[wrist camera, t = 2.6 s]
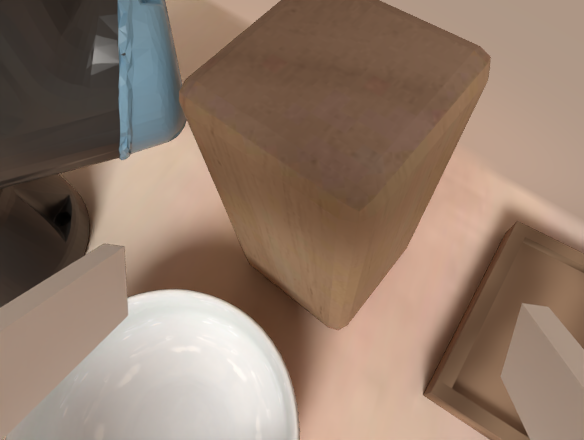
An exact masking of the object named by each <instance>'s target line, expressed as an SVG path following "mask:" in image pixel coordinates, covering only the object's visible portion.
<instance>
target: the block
mask: <svg viewBox="0 0 584 440" xmlns="http://www.w3.org/2000/svg"><path fill="white" fill-rule="evenodd" d="M490 58H491V57H490V56H489V55H488V54H487V53H486V52H485V51H484V50H483V49H482V48H481V47H480V46H478V45H476V44H474V43H472V42H469V41H467V40H465V39H463V38H460V37H458V36H456V35H454V34H452V33H450V32H447V31H445V30H443V29H441V28H439V27H437V26H434V25H432V24H430V23H428V22H425V21H423V20H421V19H419V18H417V17H415V16H412V15H410V14H408V13H406V12H404V11H401V10H399V9H397V8H395V7H392V6H390V5H388V4H386V3H383V2H382V1H379V0H281V1H280V2H278V3H277V4H276V5H275V6H274V7H272V8H271V9H270V10H269V11H268V12H267V13H265V14H264V15H263V16H262V17H261V18H259V19H258V20H257V21H256V22H254V23H253V24H252V25H251V26H250V27H248V28H247V29H246V30H245V31H243V32H242V33H241V34H240V35H239V36H237V37H236V38H235V39H234V40H233V41H231V42H230V43H229V44H228V45H227V46H225V47H224V48H223V49H222V50H221V51H219V52H218V53H217V54H216V55H215V56H213V57H212V58H211V59H210V60H209V61H207V62H206V63H205V64H204V65H203V66H201V67H200V68H199V69H198V70H196V71H195V72H194V73H193V74H192V75H190V76H189V77H188V78H187V79H186V80H185V82H184V84H183V85H182V87H181V89H180V91H179V102H180V105H181V107H182V109H183V112H184V114H185V116H186V119H187V121H188V123H189V126H190V128H191V130H192V133H193V135H194V137H195V140H196V142H197V144H198V147H199V149H200V151H201V153H202V156H203V158H204V160H205V163H206V165H207V167H208V170H209V172H210V174H211V177H212V179H213V181H214V184H215V186H216V188H217V191H218V193H219V195H220V198H221V200H222V202H223V205H224V207H225V209H226V212H227V214H228V216H229V219H230V221H231V223H232V225H233V228H234V230H235V232H236V235H237V237H238V239H239V242H240V244H241V246H242V249H243V251H244V253H245V256H246V258H247V260H248V262H249V264H250V265H252V266H253V267H254V268H255V269H257V270H258V271H259V272H260V273H262V274H263V275H264V276H265V277H266V278H268V279H269V280H270V281H271V282H273V283H274V284H275V285H276V286H278V287H279V288H280V289H281V290H283V291H284V292H285V293H286V294H288V295H289V296H290V297H291V298H293V299H294V300H295V301H296V302H298V303H299V304H300V305H301V306H303V307H304V308H305V309H306V310H307V311H309V312H310V313H311V314H312V315H314V316H315V317H316V318H317V319H319V320H320V321H321V322H322V323H324V324H325V325H326V326H327V327H329V328H333V329H336V330H340V329H341V328H343V327H345V326H347V325H348V324H349V322H350V321H351V320H352V318H353V317H354V316H355V314H356V313H357V312H358V311H359V309H360V308H361V307H362V305H363V304H364V303H365V301H366V300H367V299H368V298H369V296H370V295H371V294H372V292H373V291H374V290H375V288H376V287H377V286H378V285H379V283H380V282H381V281H382V279H383V278H384V277H385V275H386V274H387V273H388V272H389V270H390V269H391V268H392V266H393V265H394V264H395V262H396V261H397V260H398V258H399V257H400V256H401V255H402V253H403V252H404V251H405V249H406V248H407V246H408V244H409V242H410V240H411V238H412V236H413V234H414V232H415V230H416V228H417V226H418V224H419V222H420V219H421V217H422V215H423V213H424V211H425V209H426V207H427V205H428V203H429V201H430V199H431V197H432V195H433V193H434V191H435V189H436V186H437V184H438V182H439V180H440V178H441V176H442V174H443V172H444V170H445V168H446V166H447V164H448V162H449V160H450V158H451V156H452V153H453V151H454V149H455V147H456V145H457V143H458V141H459V139H460V137H461V135H462V133H463V131H464V129H465V127H466V124H467V123H468V120H469V118H470V116H471V114H472V112H473V110H474V108H475V106H476V104H477V102H478V100H479V98H480V96H481V94H482V92H483V89H484V87H485V85H486V83H487V81H488V77H489V70H490Z"/></svg>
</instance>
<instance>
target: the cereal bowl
mask: <svg viewBox="0 0 584 440" xmlns="http://www.w3.org/2000/svg"><path fill="white" fill-rule="evenodd" d="M127 301H128V316H127V317H126V318H125V319H124V320H123V321H122V322H121V323H120V324H119V325H118V326H117V327H116V328H115V329H114V330H113V331H112V332H111V333H110V334H109V335H108V336H107V337H106V338H105V339H104V340H103V341H102V342H101V343H100V344H99V345H98V346H97V347H96V348H95V349H94V350H93V351H92V352H91V353H90V354H89V355H88V356H87V357H86V358H85V359H84V360H83V361H82V362H81V363H80V364H79V365H78V366H77V367H75V368H74V369H73V370H72V371H71V372H70V373H69V374H68V375H67V376H66V377H65V378H64V379H63V380H62V381H61V382H60V383H59V384H58V385H57V386H56V387H55V388H54V389H53V390H52V391H51V392H50V393H49V394H48V395H47V396H46V397H45V398H44V399H43V400H42V401H41V402H40V403H39V404H38V405H37V406H36V407H35V408H34V409H33V410H32V411H31V412H30V413H29V414H28V415H27V416H26V417H25V418H24V419H23V420H22V421H21V422H20V423H19V424H18V425H17V426H16V427H15V428H14V429H13V430H12V431H11V432H10V433H9V434H8V435H7V436H6V438H5V440H300V435H299V434H300V428H299V418H298V408H297V402H296V396H295V393H294V387H293V385H292V381H291V378H290V375H289V372H288V369H287V367H286V365H285V363H284V360H283V358H282V356H281V354H280V352H279V351H278V349H277V347H276V346H275V344H274V342H273V341H272V339H271V338H270V337H269V336H268V335H267V333H266V332H265V331H264V329H263V328H262V327H261V326H260V325H259V324H258V323H257V322H256V321H255V320H254V319H252V318H251V317H250V316H249V315H248V314H246V313H245V312H243V311H242V310H241V309H239V308H238V307H236V306H234V305H232V304H230V303H228V302H226V301H225V300H222V299H220V298H217V297H215V296H212V295H209V294H206V293H201V292H197V291H193V290H184V289H163V290H155V291H149V292H145V293H141V294H137V295H133V296H130V297H128V298H127Z"/></svg>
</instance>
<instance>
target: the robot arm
mask: <svg viewBox="0 0 584 440" xmlns="http://www.w3.org/2000/svg"><path fill="white" fill-rule="evenodd" d="M181 87H182V80H181V75H180V70H179V65H178V60H177V56H176V51H175V46H174V41H173V36H172V32H171V27H170V22H169V17H168V12H167V8H166V3H165V0H0V440H3V439H4V438H5V437H6V436H7V435H8V434H9V433H10V432H11V431H12V430H13V429H14V428H15V427H16V426H17V425H18V424H19V423H20V422H21V421H22V420H23V419H24V418H25V417H26V416H27V415H28V414H29V413H30V412H31V411H32V410H33V409H34V408H35V407H36V406H37V405H38V404H39V403H40V402H41V401H42V400H43V399H44V398H45V397H46V396H47V395H48V394H49V393H50V392H51V391H52V390H53V389H54V388H55V387H56V386H57V385H58V384H59V383H60V382H61V381H62V380H63V379H64V378H65V377H66V376H67V375H68V374H69V373H70V372H71V371H72V370H73V369H74V368H75V367H77V366H78V365H79V364H80V363H81V362H82V361H83V360H84V359H85V358H86V357H87V356H88V355H89V354H90V353H91V352H92V351H93V350H94V349H95V348H96V347H97V346H98V345H99V344H100V343H101V342H102V341H103V340H104V339H105V338H106V337H107V336H108V335H109V334H110V333H111V332H112V331H113V330H114V329H115V328H116V327H117V326H118V325H119V324H120V323H121V322H122V321H123V320H124V319H125V318H126V317H127V316H128V301H127V283H126V266H125V249H124V246H117V245H110V244H103V245H101V246H99V247H98V248H96V249H94V250H93V251H91V252H90V253H88V254H86V255H85V256H84V253H85V250H86V247H87V243H88V237H89V217H88V212H87V209H86V206H85V204H84V202H83V200H82V198H81V197H80V195H79V194H78V193H77V192H76V190H75V189H74V188H73V187H72V186H70V185H69V184H68V183H67V182H66V181H65V180H64V179H63V178H62V177H61V176H60V175H58V174H59V173H63V172H67V171H71V170H74V169H78V168H82V167H86V166H90V165H93V164H97V163H101V162H105V161H109V160H112V159H116V158H120V159H121V160H124V159H127V158H128V157H129V156H130V154H132V153H135V152H138V151H141V150H144V149H147V148H151V147H154V146H157V145H160V144H163V143H166V142H169V141H171V140H173V139H174V138H176V137H177V136H178V135H179V134H180V132H181V131H182V130H183V128H184V127H185V124H186V120H187V119H186V116H185V114H184V112H183V109H182V107H181V105H180V102H179V91H180V89H181ZM501 379H502V381H503V383H504V385H505V387H506V389H507V391H508V394H509V396H510V398H511V400H512V402H513V404H514V406H515V409H516V411H517V413H518V415H519V417H520V419H521V421H522V423H523V426H524V428H525V430H526V432H527V434H528V436H529V438H530V440H584V349H583V348H582V347H581V345H580V344H579V343H578V342H577V341H576V339H575V338H574V337H573V336H572V335H571V333H570V332H569V331H568V330H567V329H566V327H565V326H564V325H563V324H562V323H561V321H560V320H559V319H558V318H557V317H556V315H555V314H554V313H553V312H552V310H551V309H550V308H549V307H546V306H539V305H532V304H525V303H522V305H521V308H520V312H519V315H518V319H517V322H516V325H515V329H514V332H513V336H512V339H511V343H510V346H509V349H508V353H507V356H506V360H505V363H504V367H503V370H502V373H501Z"/></svg>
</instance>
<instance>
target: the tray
mask: <svg viewBox="0 0 584 440" xmlns="http://www.w3.org/2000/svg"><path fill="white" fill-rule="evenodd" d="M522 303H525V304H532V305H539V306H546V307H549V308H550V309H551V310H552V312H553V313H554V314H555V315H556V317H557V318H558V319H559V320H560V321H561V323H562V324H563V325H564V326H565V327H566V329H567V330H568V331H569V332H570V333H571V335H572V336H573V337H574V338H575V339H576V341H577V342H578V343H579V344H580V345H581V347H582V348H583V349H584V253H582V252H580V251H578V250H576V249H574V248H572V247H570V246H568V245H566V244H564V243H562V242H559V241H557V240H555V239H553V238H551V237H549V236H547V235H545V234H543V233H541V232H539V231H537V230H535V229H533V228H531V227H529V226H527V225H525V224H523V223H521V222H519V221H517V222H516V223H515V224H514V225H513V226H512V227H511V228H510V229H509V230H508V231H507V232H506V234H505V235H504V237H503V239H502V241H501V243H500V245H499V247H498V249H497V251H496V253H495V255H494V257H493V259H492V261H491V263H490V265H489V267H488V269H487V271H486V273H485V275H484V277H483V279H482V281H481V283H480V285H479V287H478V288H477V290H476V292H475V294H474V296H473V298H472V300H471V302H470V304H469V306H468V308H467V310H466V312H465V314H464V316H463V318H462V320H461V322H460V324H459V326H458V328H457V330H456V332H455V334H454V336H453V338H452V339H451V341H450V343H449V345H448V347H447V349H446V351H445V353H444V355H443V357H442V359H441V361H440V363H439V365H438V367H437V369H436V371H435V373H434V375H433V377H432V379H431V381H430V383H429V385H428V387H427V389H426V390H425V392H424V394H423V395H424V396H425V397H427V398H428V399H430V400H431V401H433V402H434V403H436V404H437V405H439V406H440V407H442V408H443V409H445V410H446V411H448V412H449V413H451V414H452V415H454V416H455V417H457V418H458V419H460V420H461V421H463V422H464V423H466V424H467V425H469V426H470V427H472V428H473V429H475V430H476V431H478V432H479V433H481V434H482V435H484V436H485V437H487V438H488V439H490V440H530V438H529V436H528V434H527V432H526V430H525V428H524V426H523V423H522V421H521V419H520V417H519V415H518V413H517V411H516V409H515V406H514V404H513V402H512V400H511V398H510V396H509V394H508V391H507V389H506V387H505V385H504V383H503V381H502V379H501V373H502V370H503V367H504V363H505V360H506V356H507V353H508V349H509V346H510V343H511V339H512V336H513V332H514V329H515V325H516V322H517V319H518V315H519V312H520V308H521V305H522Z"/></svg>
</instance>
